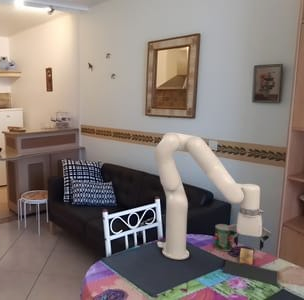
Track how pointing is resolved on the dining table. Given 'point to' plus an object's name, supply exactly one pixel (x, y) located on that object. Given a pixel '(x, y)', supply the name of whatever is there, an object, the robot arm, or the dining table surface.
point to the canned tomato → (223, 237)
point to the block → (246, 256)
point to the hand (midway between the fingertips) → (248, 246)
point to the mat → (250, 272)
